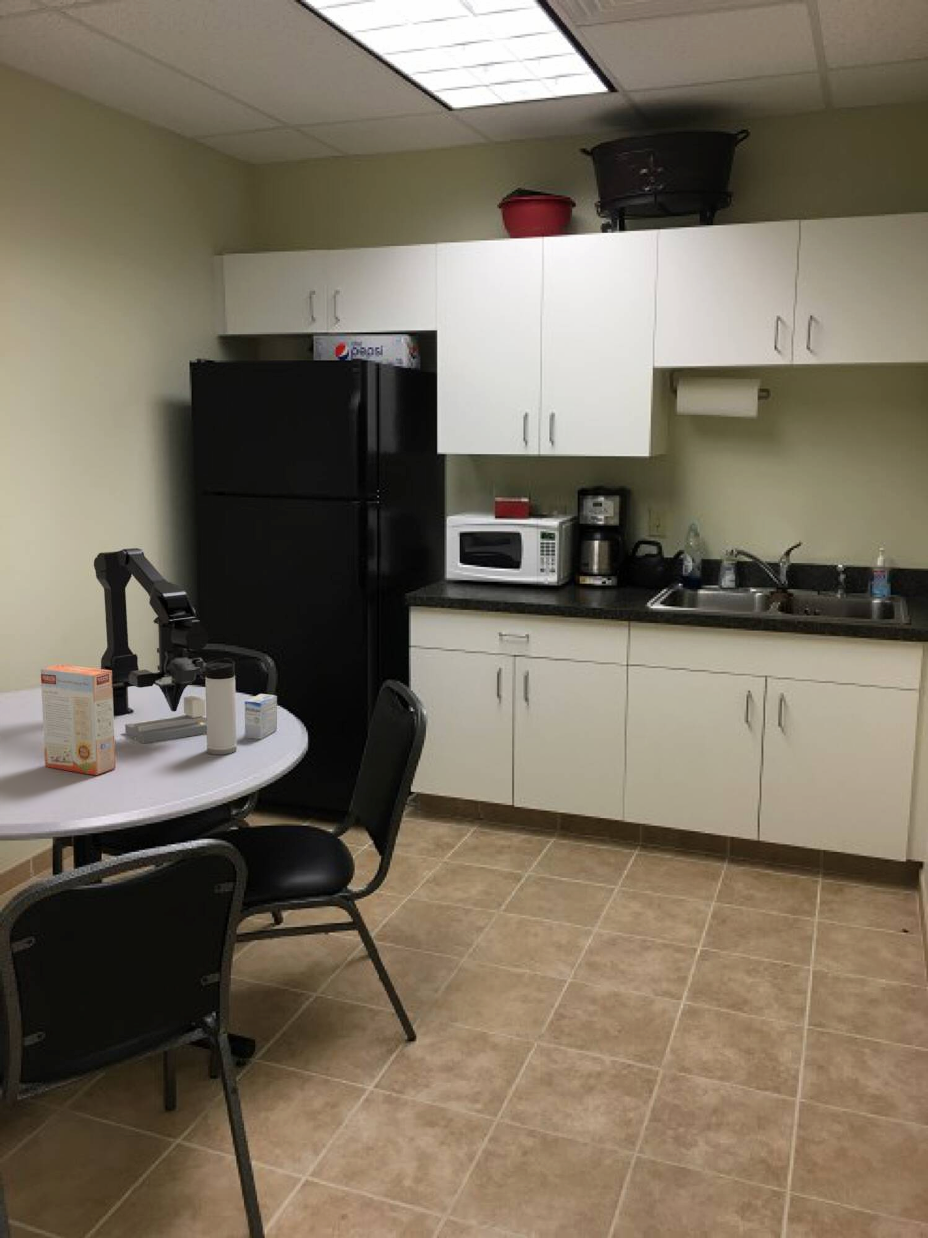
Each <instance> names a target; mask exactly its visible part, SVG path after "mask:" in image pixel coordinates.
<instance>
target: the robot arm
mask: <svg viewBox="0 0 928 1238" xmlns="http://www.w3.org/2000/svg"><path fill="white" fill-rule="evenodd" d="M93 568H94V571H95V578H96V579H97V581H98V582H99V584H100V585H101V587H102V588H103V595H104V609H105V610H104V612H105V627H106V628H105V630H106V648H105V649H106V650H105V651H104V653H103V655H102V657H101V659H100V669H103V670H111V671H112V687H113V713H114V716H115V715H116V716H117V715H124V714H129V713H130V714H131V713H134V712H135V711H134V710H135V709H132V708H131V707H129V688H131V687H136V688H147V687H153V686H154V685H155V686H158V687H159V689H160V691H161V692H162V694H163V696H164V698H165V700H166V703H167V704H168V707H169V709H170V711H171V712H177V710H178V707H179V704H180V701H181V698H182V696H183V693H184V691H185V689H186V688H187V687H188V686H189V685H192V684H193V682H194V681H196V678H197V677H196V676H199V677H200V678H201V679H203V680H206V679H205V676H206V672H205V665H206V664H207V663H208V662H205V661H204V660H203V659H202V657H197V658H195V657H194V658H189V653H188V651H192V652H200V651H201V650H203V649H204V648H205V647H206V646H207V643H208V641H209V635H208V633H207V630H206V629H205V628H204V626H202V625H201V621H200V620H199V619H198V617H197V613H196V610H195V609H194V606H193V605H192V602H191V600H190V597H189V595H188V594H187V592H186V591H185V590H184V589H183V588H181V587H180V586H179V585H177V584H175V583H172V582H169V581H168V580H166V579H165V577H164V576H162V574H161V573H160V572H159V571H158V569H156V567H155V566H154V565H153V564H152V563H151V561H150V560H148V558H147V557H146V556H145V553H144V551H143V550H142V548H136V547H133V548H123V549H121V550H117V551H105V552H99V553H97V555H96V557H94V560H93ZM132 576H133V578H134V579H135V580H136V581H137V582H138V583H139V584H140V586H141V587H142V588H143V589H144V590H145V592H147V595H148V596H149V601H148V603H149V605H150V607H151V608H152V610H153V612H154V613H155V614H156V615H157V617H155V619H154V620H153V623H154V624H157V625H158V626H157V627H158V628H157V629H158V647H157V648H156V652H157V654H158V660H159V663H158V664H159V665H157V667H156V669H157V671H156V672H152V671H150V670H147V669H141V670H140V669H139V665H138V663H139V662H138V661H139V660H138V659H139V658H138V655H137V654H136V653H134V652H133V651H132V650H131V648H130V647H129V646H130V645H129V635H128V634H129V632H128V631H129V629H128V613H127V612H128V611H127V596H126V588H127V586H128V584H129V583H130V581H131V579H132Z"/></svg>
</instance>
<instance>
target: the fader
mask: <svg viewBox="0 0 928 1238" xmlns="http://www.w3.org/2000/svg"><path fill="white" fill-rule="evenodd" d="M183 714H184V715H187V719H189V718H196V717H202V716H206V698H204V697H201V696H199V695H197V694H192V695H185V696H183Z"/></svg>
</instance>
